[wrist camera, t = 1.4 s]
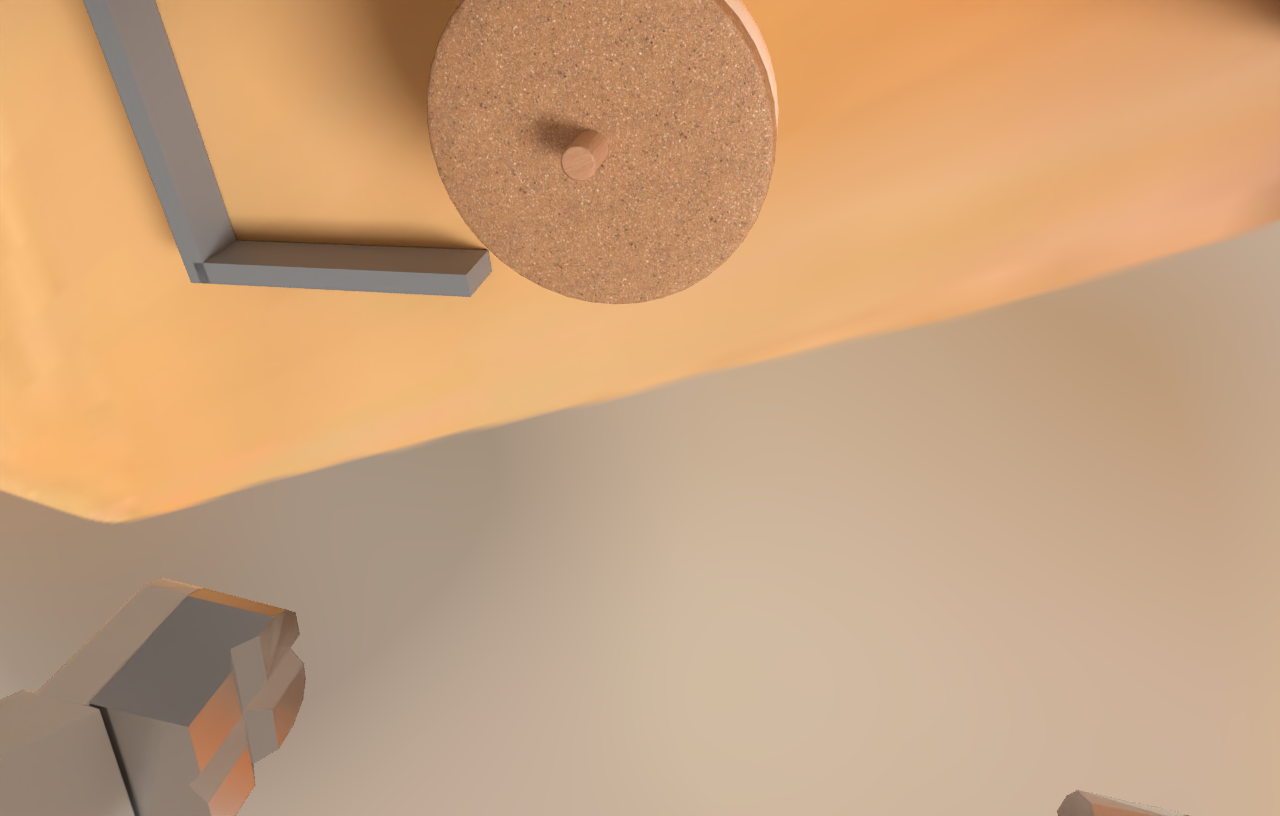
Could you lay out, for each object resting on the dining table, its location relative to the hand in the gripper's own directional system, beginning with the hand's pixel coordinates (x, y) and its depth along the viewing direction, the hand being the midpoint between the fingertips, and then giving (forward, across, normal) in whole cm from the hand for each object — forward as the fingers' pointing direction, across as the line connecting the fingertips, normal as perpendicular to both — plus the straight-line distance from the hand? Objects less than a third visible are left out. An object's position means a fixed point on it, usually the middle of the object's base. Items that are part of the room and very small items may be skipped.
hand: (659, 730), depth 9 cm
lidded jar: (+27, +5, -1) cm, 28 cm away
